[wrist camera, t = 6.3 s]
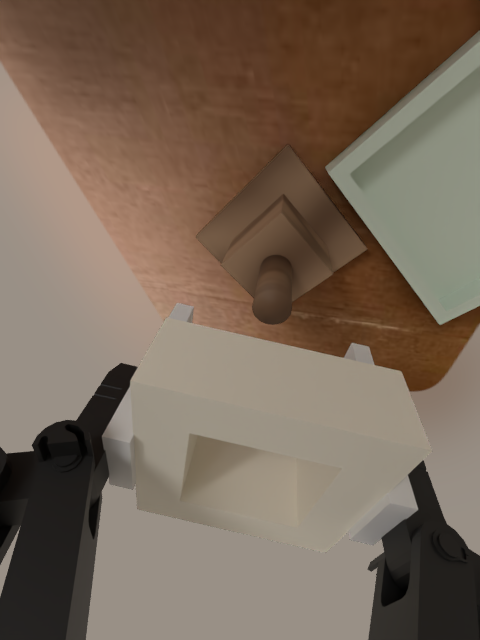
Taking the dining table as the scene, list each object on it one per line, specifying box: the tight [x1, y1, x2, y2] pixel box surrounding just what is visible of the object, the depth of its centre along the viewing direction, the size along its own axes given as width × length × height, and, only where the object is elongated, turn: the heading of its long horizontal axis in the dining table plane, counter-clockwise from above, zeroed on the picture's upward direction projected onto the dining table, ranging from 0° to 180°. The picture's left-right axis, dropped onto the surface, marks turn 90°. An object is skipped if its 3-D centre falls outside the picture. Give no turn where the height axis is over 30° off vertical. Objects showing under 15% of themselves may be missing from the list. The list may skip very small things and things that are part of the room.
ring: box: [130, 317, 432, 553], centre depth 10 cm, size 7×7×2 cm
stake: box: [196, 144, 367, 325], centre depth 22 cm, size 10×10×11 cm
